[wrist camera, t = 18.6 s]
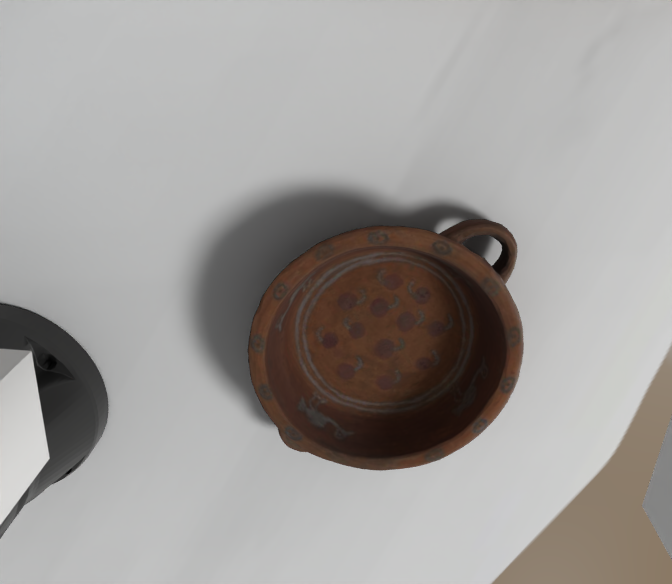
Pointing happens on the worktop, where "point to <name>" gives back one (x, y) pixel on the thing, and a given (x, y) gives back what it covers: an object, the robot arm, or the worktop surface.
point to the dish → (388, 345)
